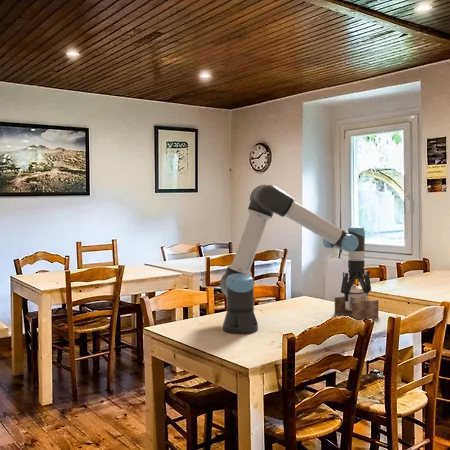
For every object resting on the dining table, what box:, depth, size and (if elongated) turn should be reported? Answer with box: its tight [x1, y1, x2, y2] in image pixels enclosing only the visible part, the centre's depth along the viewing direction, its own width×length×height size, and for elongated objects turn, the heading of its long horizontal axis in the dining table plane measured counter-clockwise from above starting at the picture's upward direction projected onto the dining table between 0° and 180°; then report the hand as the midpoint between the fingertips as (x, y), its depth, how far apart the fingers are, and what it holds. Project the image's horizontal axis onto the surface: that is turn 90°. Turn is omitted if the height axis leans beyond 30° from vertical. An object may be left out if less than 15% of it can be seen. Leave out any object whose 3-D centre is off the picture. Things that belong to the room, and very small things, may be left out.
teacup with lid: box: [345, 284, 370, 311], centre depth 254 cm, size 12×9×12 cm
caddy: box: [334, 295, 379, 320], centre depth 254 cm, size 14×15×8 cm
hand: (356, 307), depth 254 cm, fingers closed on teacup with lid, 8 cm apart
